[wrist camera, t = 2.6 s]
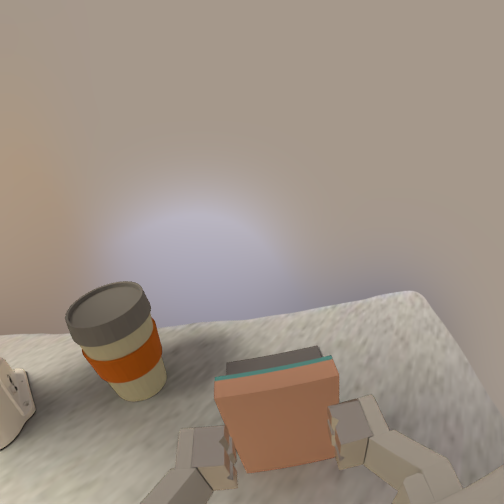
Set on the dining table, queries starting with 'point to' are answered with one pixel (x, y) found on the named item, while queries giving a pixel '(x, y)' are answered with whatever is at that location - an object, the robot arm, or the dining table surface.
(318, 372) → the tile
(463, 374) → the dining table surface
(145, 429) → the dining table surface
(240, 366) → the mat
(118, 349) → the reusable coffee cup
